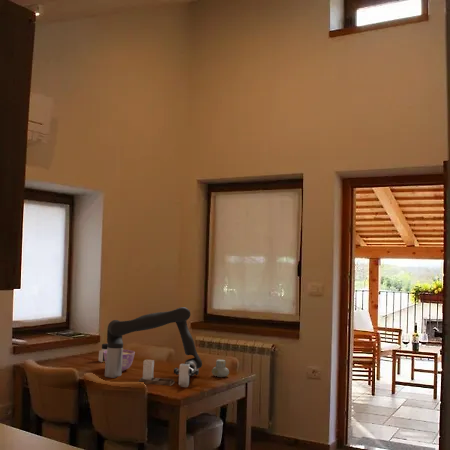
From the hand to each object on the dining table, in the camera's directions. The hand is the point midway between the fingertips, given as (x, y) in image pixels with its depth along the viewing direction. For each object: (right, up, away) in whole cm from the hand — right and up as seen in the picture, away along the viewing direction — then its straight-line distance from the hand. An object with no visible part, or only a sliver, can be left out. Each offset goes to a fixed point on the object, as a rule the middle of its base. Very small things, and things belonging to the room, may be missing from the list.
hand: (184, 373), depth 314 cm
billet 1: (-21, -5, +2) cm, 22 cm away
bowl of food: (-45, -8, +36) cm, 58 cm away
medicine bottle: (-59, -9, +63) cm, 87 cm away
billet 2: (0, -7, 0) cm, 7 cm away
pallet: (-16, -6, +1) cm, 17 cm away
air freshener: (+20, -11, +32) cm, 39 cm away
